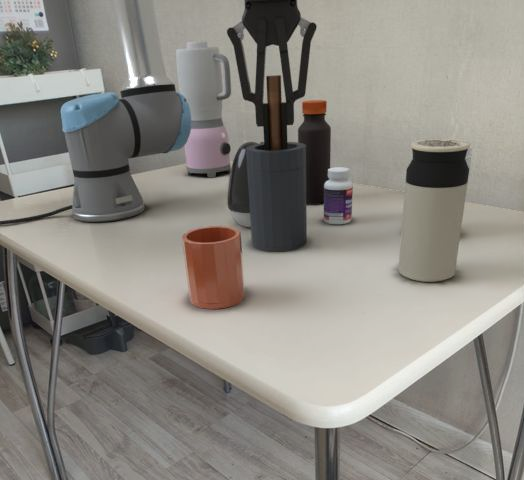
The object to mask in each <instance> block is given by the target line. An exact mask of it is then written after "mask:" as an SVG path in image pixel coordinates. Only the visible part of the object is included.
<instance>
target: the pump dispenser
mask: <svg viewBox="0 0 524 480" xmlns="http://www.w3.org/2000/svg"><path fill="white" fill-rule="evenodd" d="M261 143H264V141H261V142H259V143H258V142H257V141H247V142H244V143H243V144H241V145H240V146H239V147H238V149H237V150H236V153H235V155H234V157H233V160H232V164H231V169H230V173H229V178H228V183H227V184H228V185H227V201H226V202H227V203H226V205H227V209H228V210H229V212H230V215H231V217H232V218H233V220H234V221H235V222H236V223H237V224H239V225H240V226H242V227H245V228H250V229H251V223H250V207H249V191H248V175H247V159H246V148H247V147H249V146H251V145H255V144H261Z"/></svg>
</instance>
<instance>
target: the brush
mask: <svg viewBox="0 0 524 480" xmlns="http://www.w3.org/2000/svg"><path fill="white" fill-rule="evenodd" d="M265 77H266V103H267V104H268V126H269V150H283V146H282V114H281V103H282V102H283V101H282V75H281V74H274V75H273V74H272V75H265Z"/></svg>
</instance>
